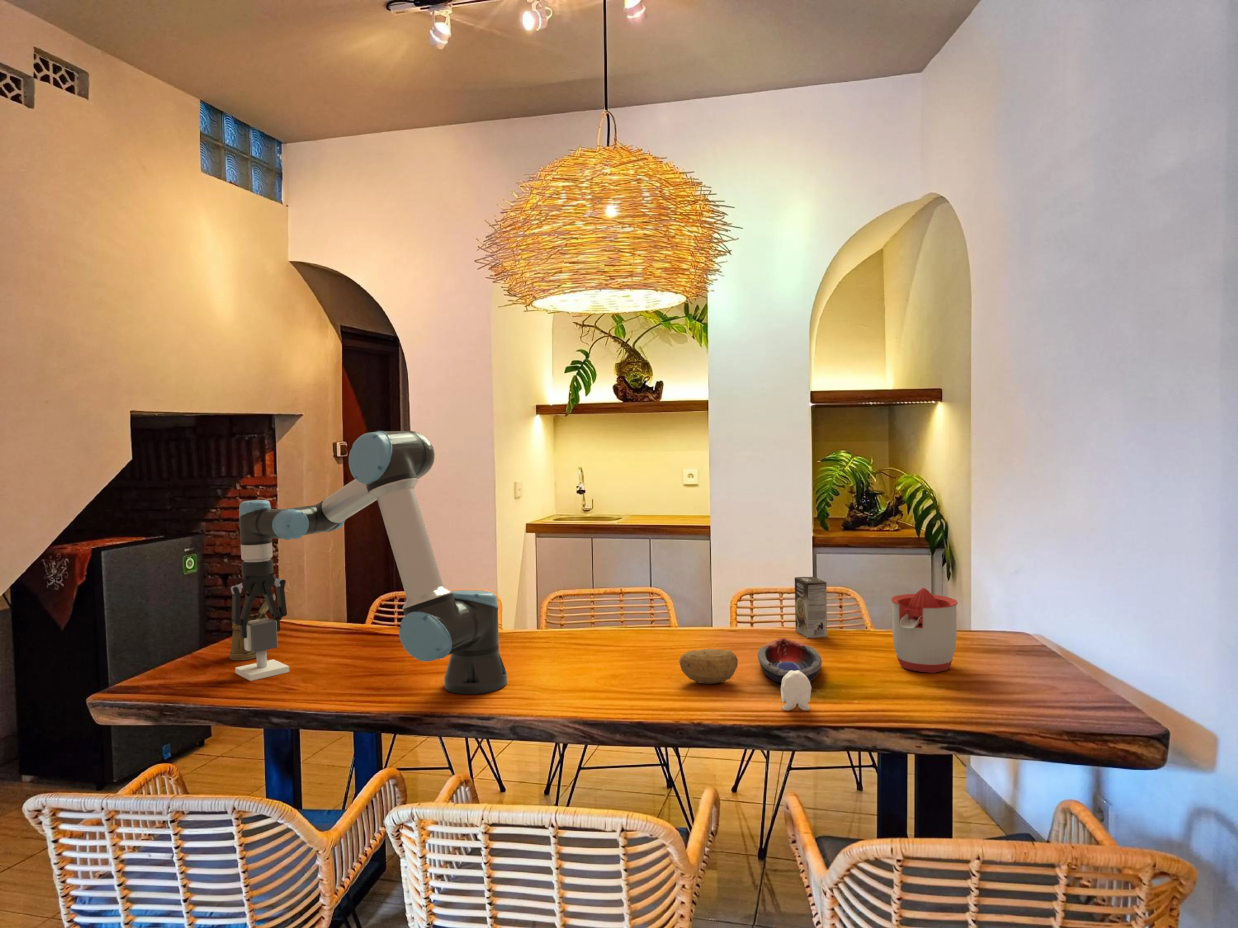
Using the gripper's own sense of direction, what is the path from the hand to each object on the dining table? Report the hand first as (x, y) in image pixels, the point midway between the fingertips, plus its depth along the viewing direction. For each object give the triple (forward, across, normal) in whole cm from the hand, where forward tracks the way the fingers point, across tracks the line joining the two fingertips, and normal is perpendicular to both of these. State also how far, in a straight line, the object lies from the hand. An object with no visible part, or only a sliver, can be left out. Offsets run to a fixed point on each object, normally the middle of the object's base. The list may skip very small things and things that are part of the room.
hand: (261, 646), depth 216 cm
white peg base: (+7, 0, 0) cm, 7 cm away
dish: (+7, -90, +103) cm, 137 cm away
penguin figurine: (+7, -69, +118) cm, 137 cm away
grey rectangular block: (0, 0, 0) cm, 0 cm away
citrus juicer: (+7, -113, +127) cm, 170 cm away
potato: (+7, -69, +94) cm, 117 cm away
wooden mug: (+7, -5, -18) cm, 20 cm away
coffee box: (+7, -124, +88) cm, 152 cm away
